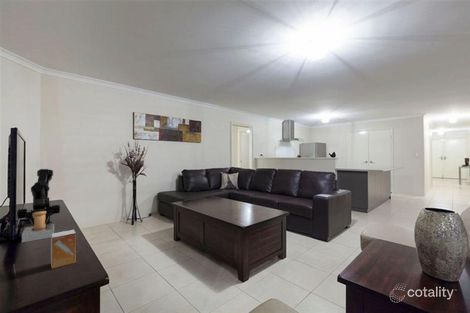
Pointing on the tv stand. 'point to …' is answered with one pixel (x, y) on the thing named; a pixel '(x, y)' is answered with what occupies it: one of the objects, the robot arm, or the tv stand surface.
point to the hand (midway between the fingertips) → (39, 223)
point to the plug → (39, 220)
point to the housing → (37, 233)
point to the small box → (63, 248)
